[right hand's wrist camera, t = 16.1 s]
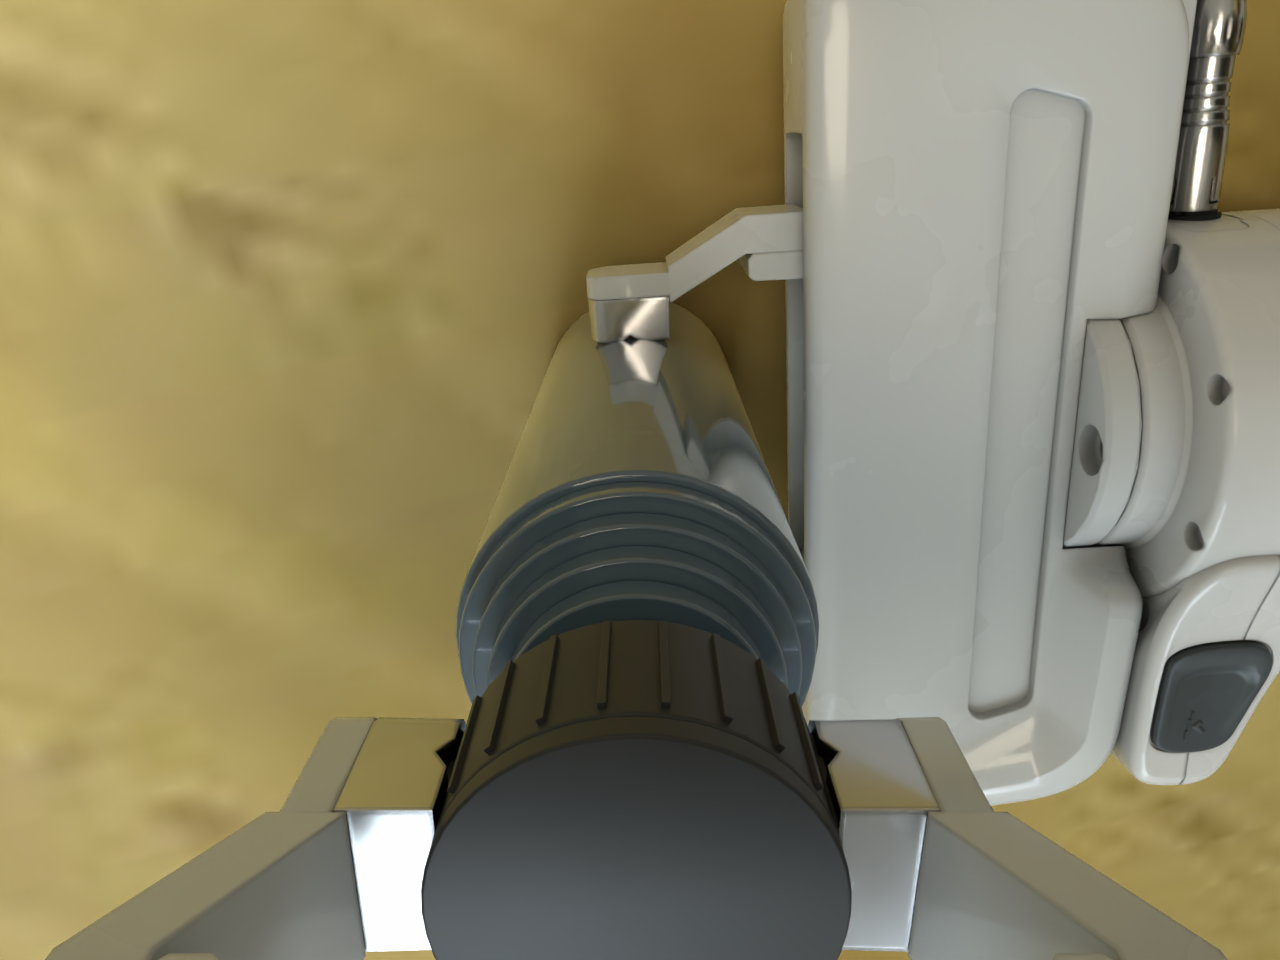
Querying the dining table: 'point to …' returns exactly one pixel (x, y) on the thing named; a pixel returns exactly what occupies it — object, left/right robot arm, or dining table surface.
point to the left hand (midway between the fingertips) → (601, 444)
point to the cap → (636, 810)
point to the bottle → (638, 512)
